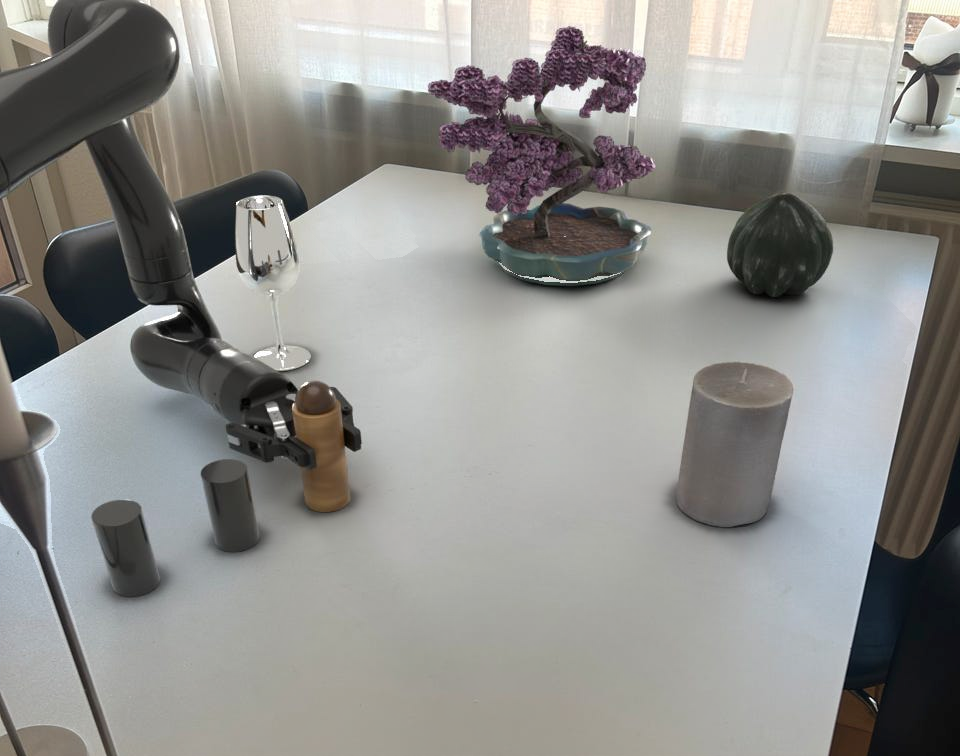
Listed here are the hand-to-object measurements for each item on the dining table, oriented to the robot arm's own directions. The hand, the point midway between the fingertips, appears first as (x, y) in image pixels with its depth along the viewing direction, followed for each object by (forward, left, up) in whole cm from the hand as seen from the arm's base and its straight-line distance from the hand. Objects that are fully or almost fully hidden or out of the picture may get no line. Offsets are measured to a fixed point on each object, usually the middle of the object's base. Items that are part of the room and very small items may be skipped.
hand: (335, 451), depth 100 cm
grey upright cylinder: (-11, +3, -7) cm, 13 cm away
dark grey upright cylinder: (-22, +3, -7) cm, 23 cm away
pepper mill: (0, +3, -7) cm, 7 cm away
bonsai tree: (+65, +38, -7) cm, 75 cm away
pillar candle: (+31, -25, -7) cm, 41 cm away
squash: (+84, +8, -7) cm, 85 cm away
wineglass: (+15, +36, -7) cm, 39 cm away
